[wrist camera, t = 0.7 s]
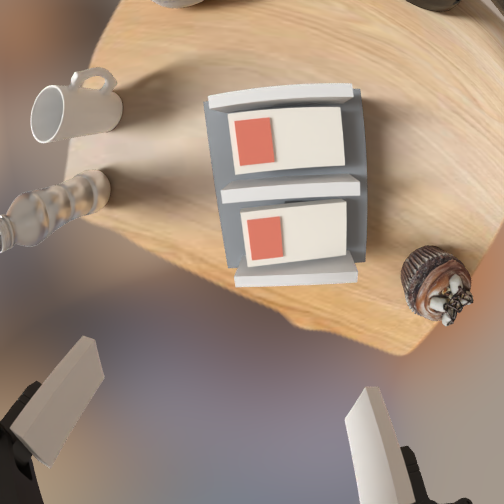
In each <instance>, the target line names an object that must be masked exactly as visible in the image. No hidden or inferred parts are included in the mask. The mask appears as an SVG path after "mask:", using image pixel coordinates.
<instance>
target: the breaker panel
mask: <svg viewBox="0 0 504 504" xmlns="http://www.w3.org/2000/svg"><path fill="white" fill-rule="evenodd" d="M203 103H204V111H205V119H206V126H207V134H208V141H209V149H210V156H211V163H212V170H213V177H214V183H215V190H216V197H217V203H218V210H219V216H220V222H221V229H222V235H223V241H224V247H225V253H226V259H227V265H228V268H237V271H236V273H235V276H234V279H235V285H236V287H262V286H293V285H317V284H337V283H354V282H357V278H358V270H357V268H356V265H355V263H358V262H365V257H366V239H367V160H366V142H365V129H364V118H363V108H362V100H361V92H360V89H353V88H352V84H349V83H319V84H296V85H282V86H271V87H262V88H253V89H246V90H239V91H233V92H226V93H221V94H215V95H210V96H208V101H206V102H203ZM300 107H340V110H341V120H342V130H343V142H344V157H345V165H343V166H323V167H308V168H295V169H283V170H273V171H263V172H254V173H246V174H238V175H235V169H234V161H233V153H232V146H231V138H230V130H229V122H228V114H230V113H238V112H247V111H256V110H267V109H281V108H300ZM330 199H343V200H344V201H346V213H347V231H346V255H342V256H335V257H327V258H319V259H311V260H303V261H295V262H287V263H279V264H270V265H262V266H253V267H248V266H247V258H246V251H245V244H244V236H243V229H242V221H241V214H240V210H241V209H242V208H251V207H259V206H268V205H277V204H287V203H297V202H307V201H318V200H330Z"/></svg>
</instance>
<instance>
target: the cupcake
mask: <svg viewBox="0 0 504 504" xmlns="http://www.w3.org/2000/svg"><path fill="white" fill-rule="evenodd" d="M401 282H402V285H403V288H404V293H405V298H406V302H407V305H408V306H409V309H411V310H412V312H414V313H415V314H416V313H417V315H420V316H423V317H424V318H427V319H429V320H432V321H440V320H442V323H443V324H444V325H445V326H448V325H450V324H453V323H454V320H455V319H456V316H457V312H458V313H460V312H461V311H462V309H463V307H464V306H465V305H469V304H471V303H473V296H472V294H471V292H470V289H471V277H470V274H469V272H468V271H467V270H466V268H465V266H464V265H463V263H462V262H461V261H460V260H458V259H457V258H455V257H454V256H453V255H452V254H449V253H447V252H445V251H443V250H441V249H439V248H437V247H434V246H424V247H421V248H419V249H417V250H415V251H414V252H413V253H411V254H410V256H409V257H408V258H407V259H406V260H405V262H404V264H403V267H402V270H401ZM459 309H460V310H459Z"/></svg>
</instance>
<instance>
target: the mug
mask: <svg viewBox="0 0 504 504" xmlns="http://www.w3.org/2000/svg"><path fill="white" fill-rule="evenodd" d="M93 76H101V77H103V78H105V84H104V85H103V87H102V88H101V89H100V90H98V89H90V88H82V87H80V85H81V84H82V83H83V82H84V81H85V80H86V79H88V78H90V77H93ZM116 85H117V81H116V79H115V78H114V77H113V75H112V74H111V73H110V72H109V71H108V70H107V69H104V68H100V67H96V68H90V69H86V70H83V71H80V72H75V73H74V75H73V77H72V78H71V84H70V85H69V86H57V85H50V86H47V87H46V88H44V89H43V90H42V91H41V92H40V94H39V95H38V96H37V98H36V100H35V102H34V105H33V108H32V112H31V129H32V133H33V136H34V137H35V139H36V140H37V141H39V142H40V143H47V142H52V141H58V140H63V139H68V138H74V137H80V136H86V135H92V134H98V133H105V132H108V131H111V130H112V129H113V128H115V127H116V125H117V124H118V123H119V121H120V119H121V116H122V110H123V106H122V101H121V99H120V97H119V96H118V95H117V94H116V93H114V92H112V91H113V89H114V88H115V86H116Z"/></svg>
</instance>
